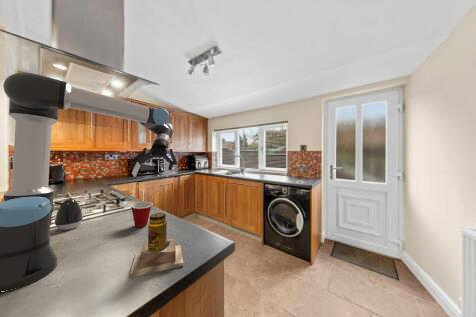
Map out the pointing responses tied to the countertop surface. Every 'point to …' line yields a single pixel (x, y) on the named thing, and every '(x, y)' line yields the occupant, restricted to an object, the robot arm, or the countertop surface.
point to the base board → (156, 268)
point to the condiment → (157, 234)
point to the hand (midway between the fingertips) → (150, 175)
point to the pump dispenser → (68, 215)
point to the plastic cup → (141, 213)
